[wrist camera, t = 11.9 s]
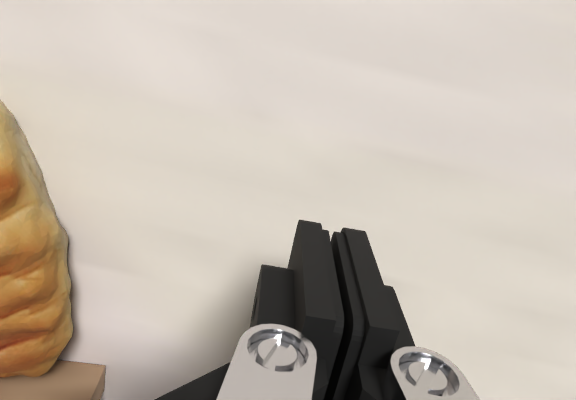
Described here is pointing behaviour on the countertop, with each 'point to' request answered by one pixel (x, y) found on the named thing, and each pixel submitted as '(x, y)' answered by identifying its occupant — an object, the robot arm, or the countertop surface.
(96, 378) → the open wooden frame
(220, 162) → the countertop surface
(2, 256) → the pastry
